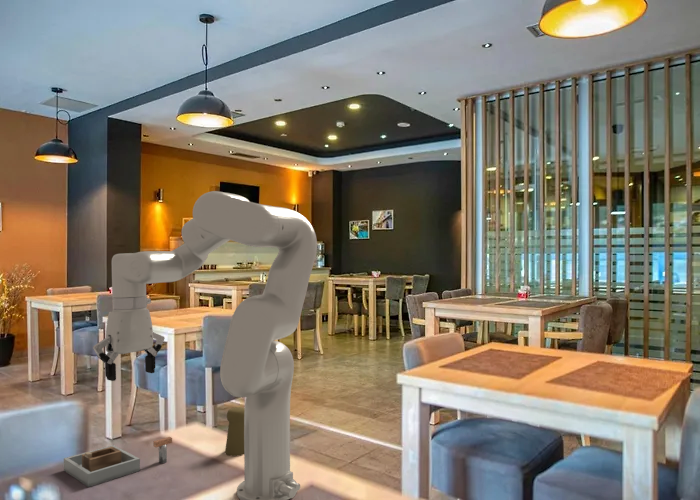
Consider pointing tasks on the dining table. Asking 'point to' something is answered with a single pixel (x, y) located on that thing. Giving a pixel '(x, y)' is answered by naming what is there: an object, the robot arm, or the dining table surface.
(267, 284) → the robot arm
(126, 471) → the tray
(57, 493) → the dining table surface
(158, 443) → the brown grey t-shaped piece
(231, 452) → the cork
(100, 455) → the collar
